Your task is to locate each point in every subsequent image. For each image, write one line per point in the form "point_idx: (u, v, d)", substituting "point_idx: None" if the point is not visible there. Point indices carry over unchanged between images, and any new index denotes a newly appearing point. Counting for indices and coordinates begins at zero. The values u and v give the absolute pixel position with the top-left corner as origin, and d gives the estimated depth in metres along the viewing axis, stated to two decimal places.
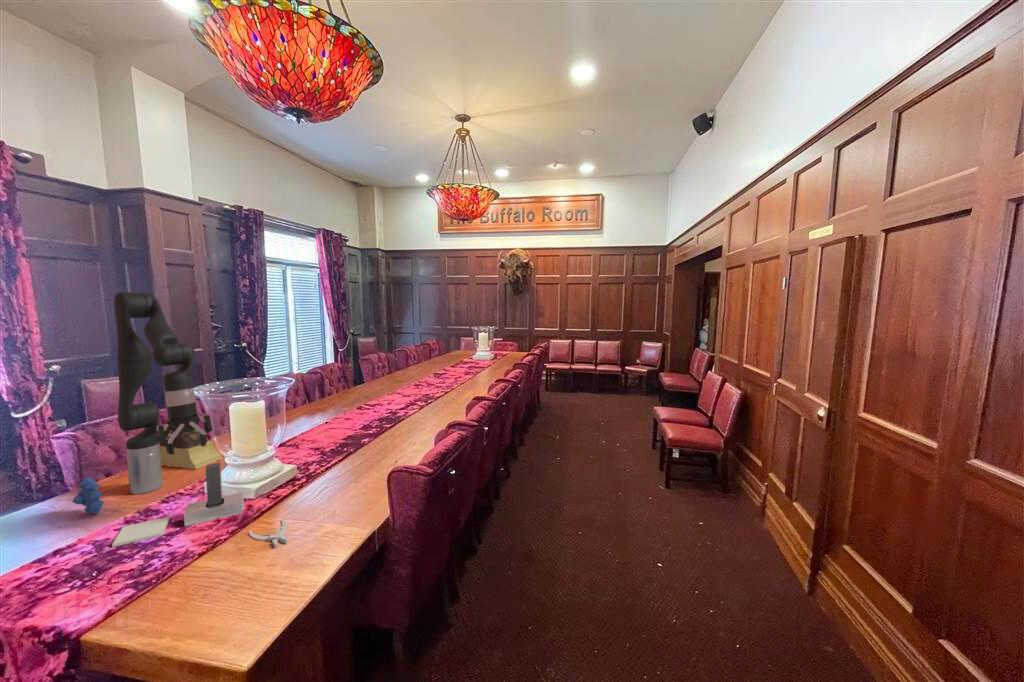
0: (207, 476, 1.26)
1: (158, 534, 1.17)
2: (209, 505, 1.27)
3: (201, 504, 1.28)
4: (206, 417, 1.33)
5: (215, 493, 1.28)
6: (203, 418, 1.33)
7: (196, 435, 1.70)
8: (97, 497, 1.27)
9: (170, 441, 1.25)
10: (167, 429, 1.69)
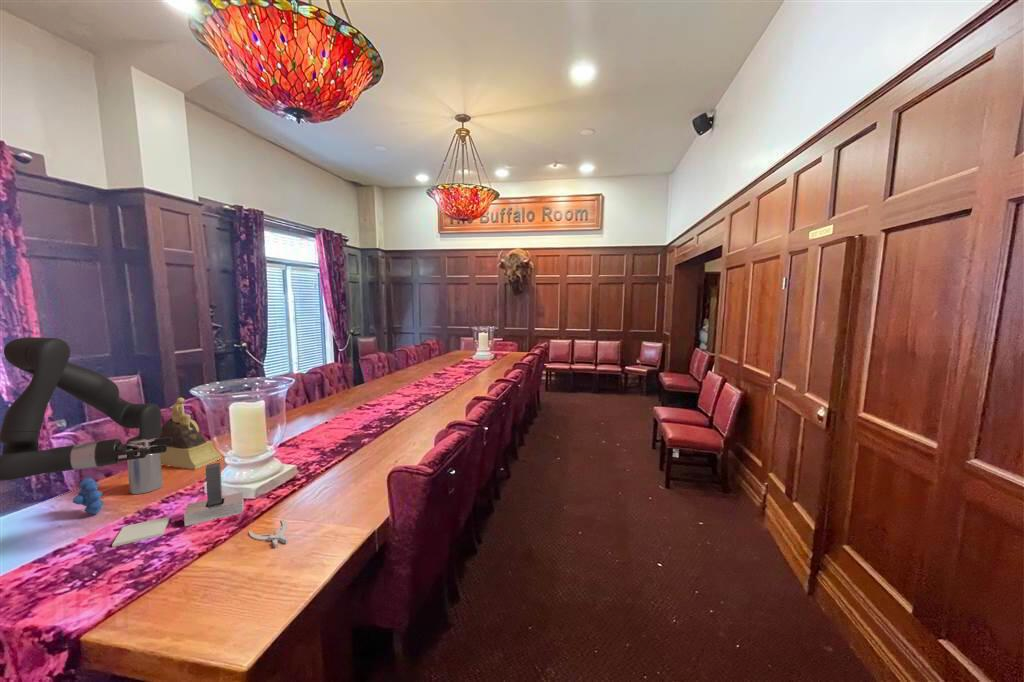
0: (207, 476, 1.26)
1: (158, 534, 1.17)
2: (209, 505, 1.27)
3: (201, 504, 1.28)
4: None
5: (215, 493, 1.28)
6: None
7: (196, 435, 1.70)
8: (97, 497, 1.27)
9: (153, 446, 1.25)
10: (167, 429, 1.69)
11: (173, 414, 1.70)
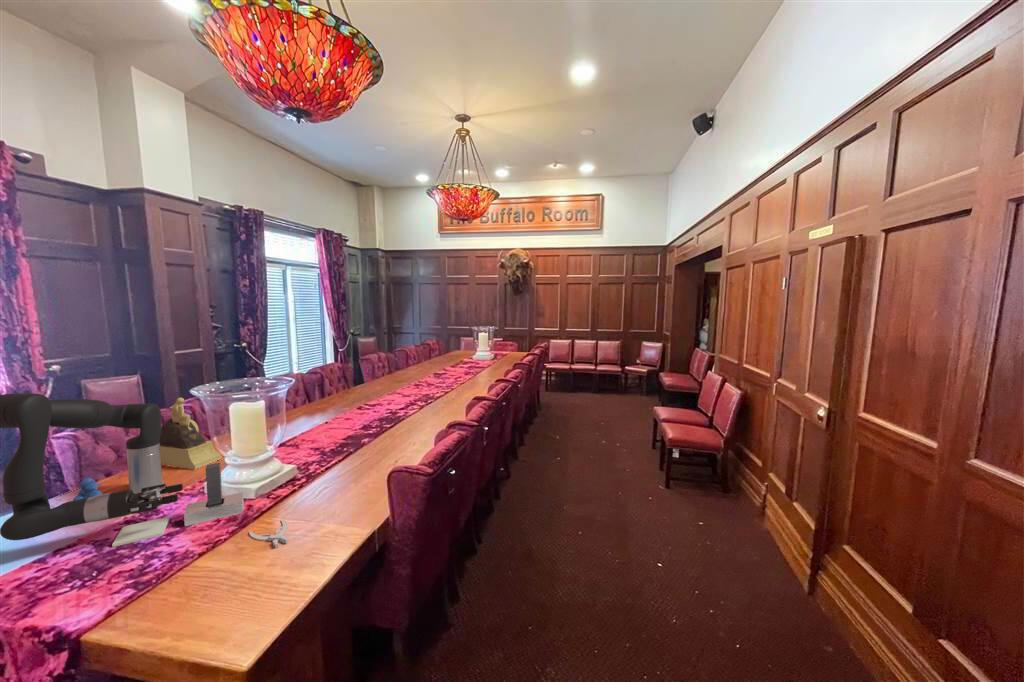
0: (207, 476, 1.26)
1: (158, 534, 1.17)
2: (209, 505, 1.27)
3: (201, 504, 1.28)
4: None
5: (215, 493, 1.28)
6: None
7: (196, 435, 1.70)
8: None
9: (164, 493, 1.26)
10: (167, 429, 1.68)
11: (173, 414, 1.70)
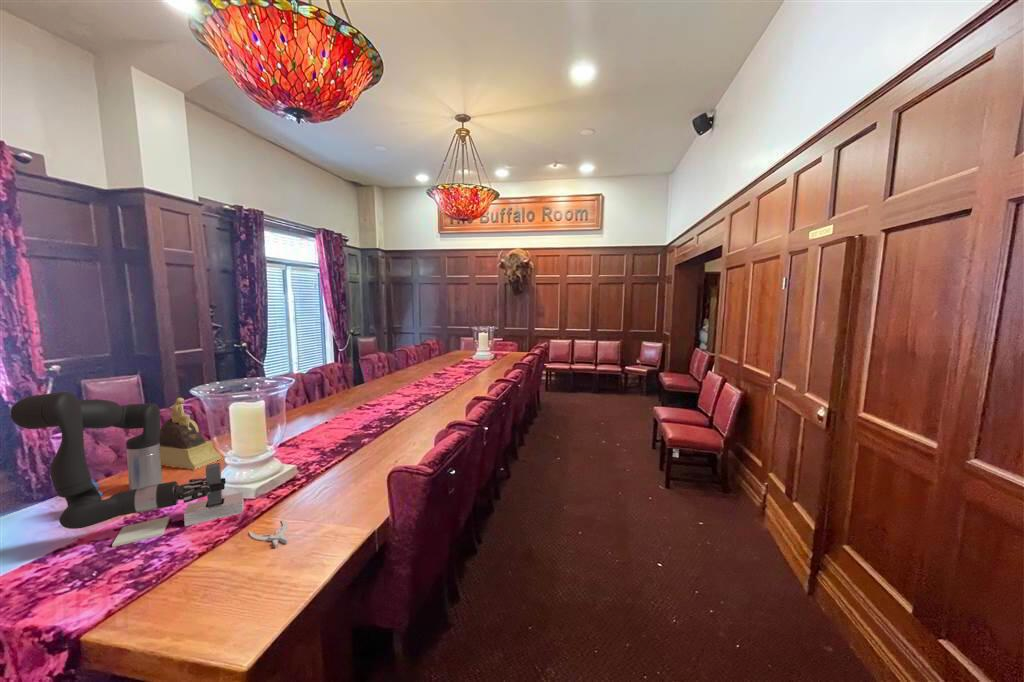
0: (207, 476, 1.26)
1: (158, 534, 1.17)
2: (209, 505, 1.27)
3: (201, 504, 1.28)
4: None
5: (215, 492, 1.28)
6: None
7: (195, 435, 1.70)
8: None
9: None
10: (166, 429, 1.68)
11: (172, 414, 1.70)
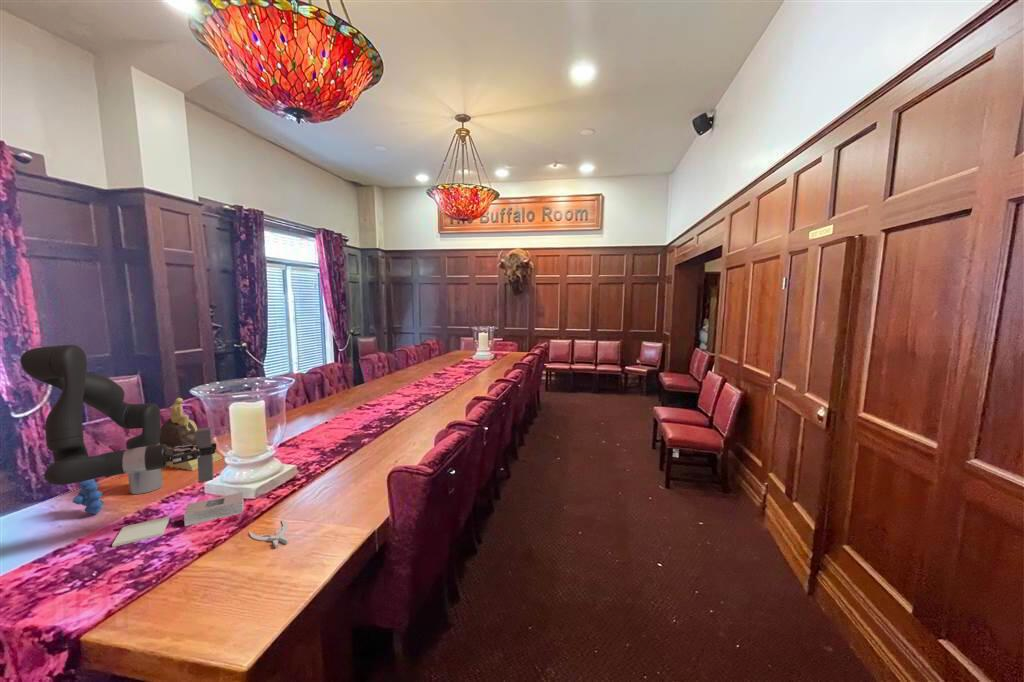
0: (197, 439, 1.24)
1: (158, 534, 1.17)
2: (199, 469, 1.25)
3: (201, 504, 1.28)
4: None
5: (205, 457, 1.26)
6: None
7: (194, 436, 1.69)
8: (97, 497, 1.27)
9: None
10: (166, 429, 1.68)
11: (172, 414, 1.69)
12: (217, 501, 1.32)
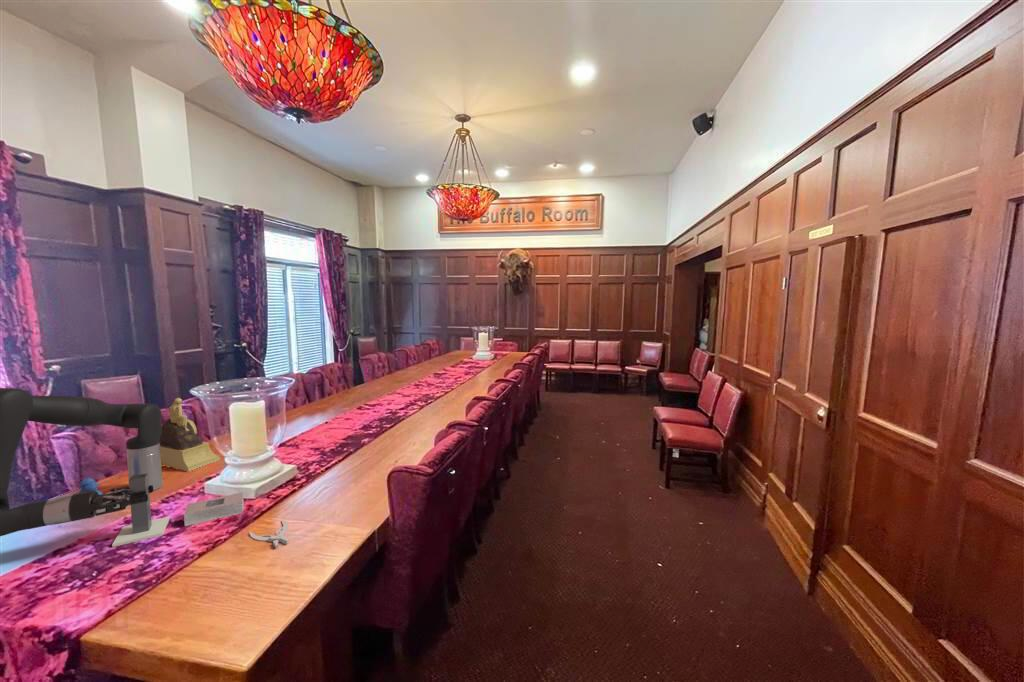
0: (131, 489, 1.16)
1: (158, 534, 1.17)
2: (133, 520, 1.17)
3: (201, 504, 1.28)
4: None
5: (140, 506, 1.17)
6: None
7: (192, 436, 1.69)
8: None
9: None
10: (165, 429, 1.68)
11: (171, 414, 1.69)
12: (217, 501, 1.32)
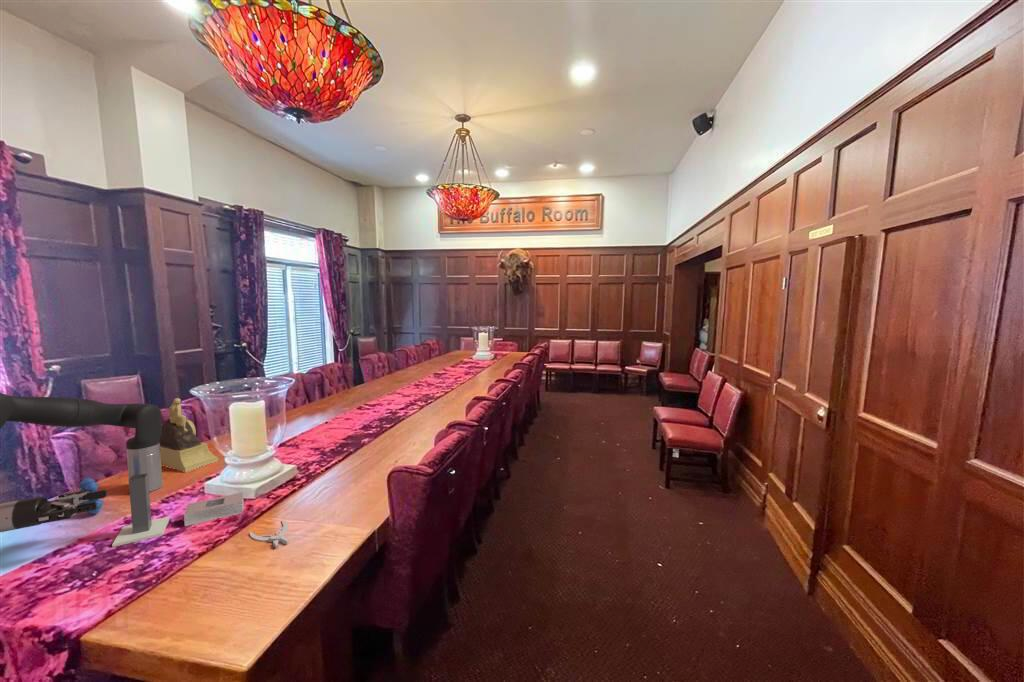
0: (131, 489, 1.16)
1: (158, 534, 1.17)
2: (133, 520, 1.17)
3: (201, 504, 1.28)
4: None
5: (140, 506, 1.17)
6: None
7: (190, 437, 1.68)
8: None
9: (85, 500, 1.15)
10: (164, 429, 1.68)
11: (170, 414, 1.69)
12: (217, 501, 1.32)
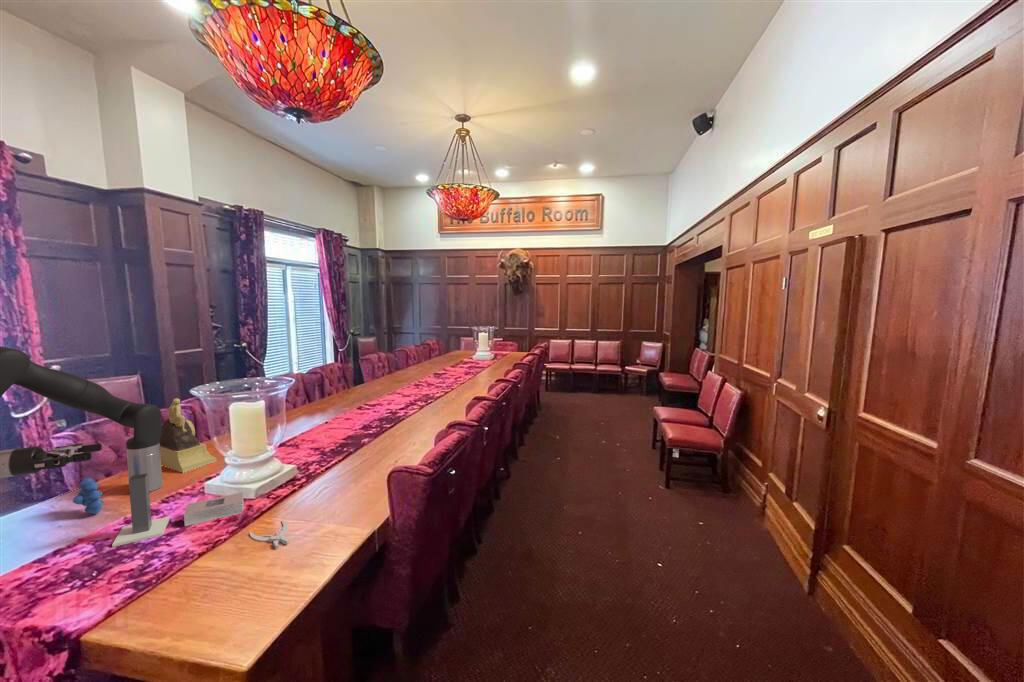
0: (131, 489, 1.16)
1: (158, 534, 1.17)
2: (133, 520, 1.17)
3: (201, 504, 1.28)
4: None
5: (140, 506, 1.17)
6: None
7: (188, 437, 1.67)
8: (97, 497, 1.27)
9: None
10: (163, 429, 1.68)
11: (169, 415, 1.69)
12: (217, 501, 1.32)
